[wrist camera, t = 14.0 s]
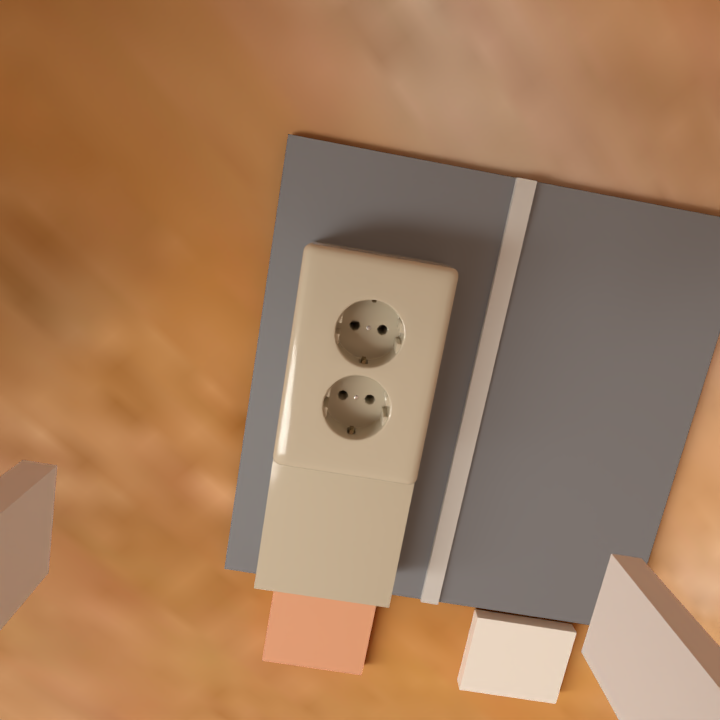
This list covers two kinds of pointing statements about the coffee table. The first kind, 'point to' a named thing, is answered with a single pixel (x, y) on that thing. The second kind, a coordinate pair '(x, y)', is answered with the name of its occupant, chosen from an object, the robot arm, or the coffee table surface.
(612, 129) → the coffee table surface
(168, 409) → the coffee table surface
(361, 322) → the electrical outlet
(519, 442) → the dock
